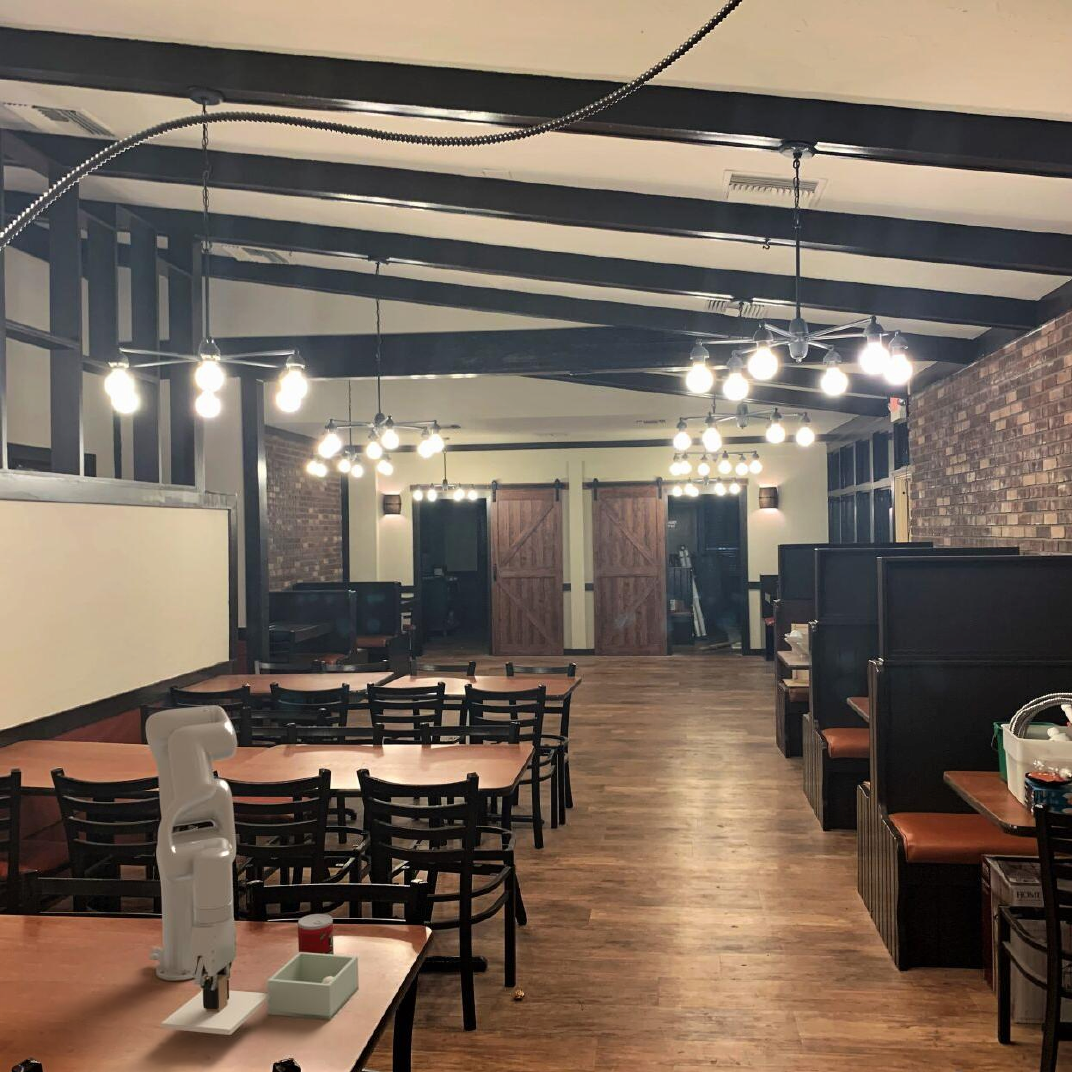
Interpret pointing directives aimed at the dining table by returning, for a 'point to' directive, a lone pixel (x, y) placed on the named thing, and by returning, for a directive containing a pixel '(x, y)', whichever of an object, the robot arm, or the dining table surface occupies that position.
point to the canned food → (316, 934)
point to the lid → (216, 1011)
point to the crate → (313, 985)
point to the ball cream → (327, 979)
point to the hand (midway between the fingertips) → (216, 1002)
